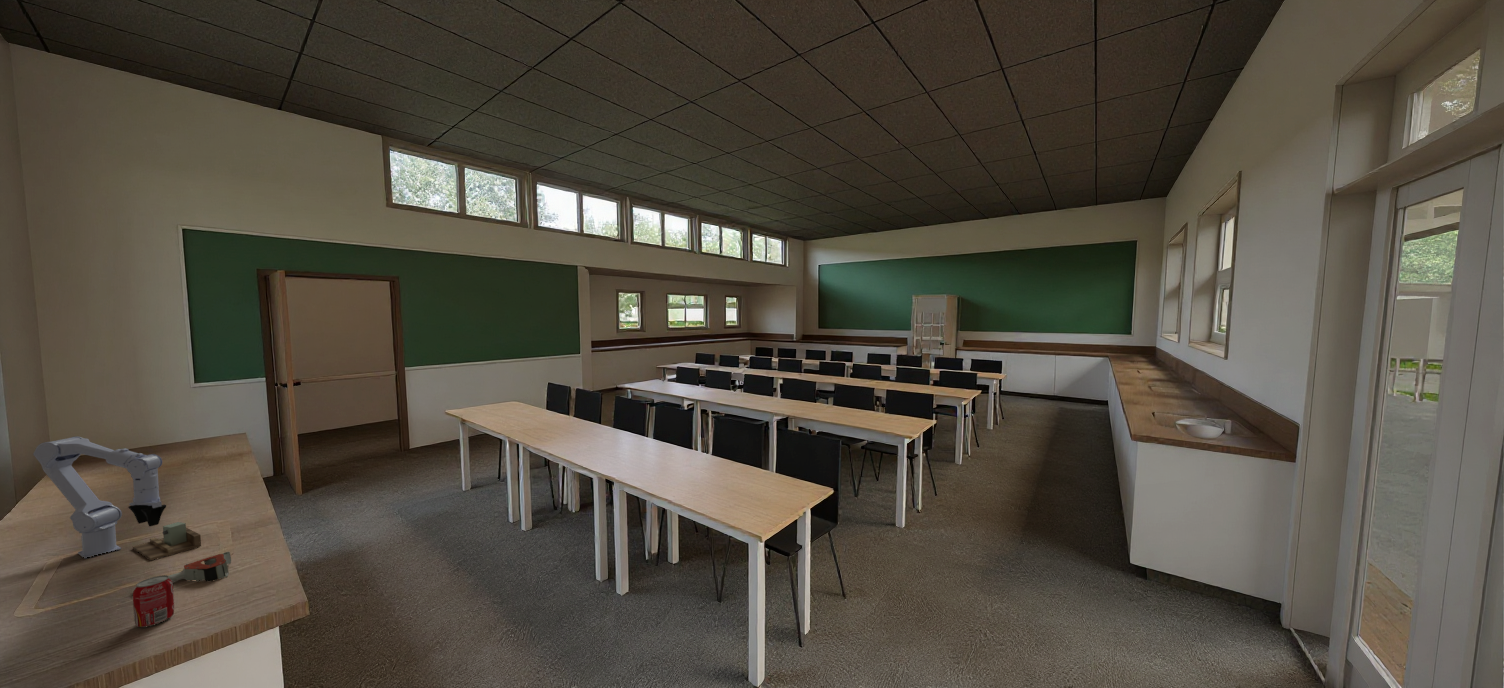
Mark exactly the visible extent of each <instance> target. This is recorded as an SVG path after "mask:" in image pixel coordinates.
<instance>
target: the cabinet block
mask: <svg viewBox="0 0 1504 688" xmlns="http://www.w3.org/2000/svg"><path fill="white" fill-rule="evenodd" d="M186 528H187V524H186V522H179V521H177V522H173V523H170V524H169V523H168V524H166V525H162V534H163V538H164V543H165V544H167V545H169V546H173V545H176V544H179V543H182V542H186V541H187V538H186Z"/></svg>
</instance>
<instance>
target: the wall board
mask: <svg viewBox="0 0 1504 688" xmlns="http://www.w3.org/2000/svg"><path fill="white" fill-rule="evenodd" d="M186 538H187V541H186V542H182V543H179V544H176V545H173V546H169V545H167V544H165V543H164V537H163V538H159V539H158V538H157V537H151V538H149V541H148V542H144V543H141V544H136V545H133V546H132V550H133V549H134V550H133V551H135V552H136V553H138V552H139V553H138V554H140V555H141V554H142V555H141V556H142V557H144V556H145V557H144V558H145V559H147V558H148V559H147V560H148V561H150V560H152V561H155V560H154V559H156V560H158V559H157V558H159V559H161V558H160V557H163V556H166V557H168V556H167V555H169V556H172V555H171V554H173V555H176V554H180V553H182V552H186V550H187V551H189V549H190V550H194V549H197V548H200V547H199V546H201V547H202V540H201V534H200V533H199V532H196V531H194V530H192V529H190V528H188V527H186ZM196 547H197V548H196ZM193 548H194V549H193ZM179 552H180V553H179ZM175 553H176V554H175ZM163 558H164V557H163Z"/></svg>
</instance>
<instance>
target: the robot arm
mask: <svg viewBox="0 0 1504 688" xmlns="http://www.w3.org/2000/svg"><path fill="white" fill-rule="evenodd" d="M32 455H33V456H34V457H35V459H36V460H37V461H38V463H39V464H40V465H41V469H42V470H43V472H44V473H45V475H46V476H47V477H48V478H49V479H50V480H51V481H52V483H53V484H54V485H55V486H56V488H57V489H58V490H59V491H60V493H61V494H62V495H63V497H64V498H65V499H66V500H67V501H68V503H69V504H70V505H71V506H72V507H73V508H74V509H75V511H73V512H72V514H71V515H70V517H69V519H70V520H71V521H72V526H73V528H74V530H75V531H76V532H78V533H79V534H81V548H82V549H81V551H77V554H78V555H80V556H81V558H83V557H84V558H83V559H88V558H87V557H90V558H92V557H91V556H93V557H95V556H94V555H97V556H99V555H98V554H101V555H103V554H102V553H105V554H107V553H106V552H108V553H112V552H115V550H116V551H119V550H121V549H122V548H121V547H120V546H119V545H117V536H116V534H117V533H116V525H117V524H118V521H119V520H120V519H121V518H122V516H123V512H122V510H121V509H120V508H119V507H118V506H115V505H113V503H112V502H111V501H107V500H100V499H99V498H98V497H97V495H96V494H95V493H94V492H93V490H92V489H91V488H90V487H89V486H88V484H87V483H86V481H85V480H84V479H83V478H82V477H81V475H79V473H78V472H77V471H76V469H75V468H74V467H73V464H74V462H75V461H77V459H78V458H79V457H80V456H81V455H85V456H90V457H94V458H98V459H103V460H105V461H106V464H108V465H112V466H116V467H120V468H123V469H126V471H127V472H128V473H130V478H132V483H133V498H132V502H129V503H128V504H129V506H128V509H129V510H130V511H131V512H132V513H133V515H134V517H135V519H136V521H137V524H143V523H147V525H148V527H153V526H157V525H159V524H160V520H161V517H162V515H163V512H164V510H165V509H166V507H167V504H162V501H161V497H160V486H159V472H158V470H159V468H161V467H162V466H163V459H162V457H161V456H160V455H157V454H155V453H152V454H151V453H150V454H144V453H141V452H139V453H138V452H136V451H132V450H130V449H129V448H125V447H124V448H118V449H115V450H114V449H112V448H109V447H106V446H104V445H101V444H97V443H94V442H91V441H90V439H89V438H87V437H85V438H84V437H81V436H79V435H78V436H71V437H68V438H67V437H66V438H63V439H62V438H61V439H57V440H53V441H46V442H42V443H40V444H38V445H36V448H35V450H34V451H33V454H32ZM111 551H112V552H111Z"/></svg>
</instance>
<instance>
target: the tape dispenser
mask: <svg viewBox="0 0 1504 688" xmlns="http://www.w3.org/2000/svg"><path fill="white" fill-rule="evenodd" d="M202 562H204V563H202ZM231 563H232V557H231V551H225V552H223V553H219V554H215V555H212V556H208V557H206V558H203V559H200V560H196V561H194V562H193V561H192V562H190V563H186V564H184V565H183V569H182V570H181V571H180V572H176V573H173V574H172V573H171V574H170V575H168V576H169V579H170V580H172V582H173V583H175V582H177V581H180V580H186V581H187V580H196V581H197V582H200V581H199V580H201V581H205V582H207V581H211V582H214V581H213V580H215V581H218V580H217V579H219V580H221V579H220V578H222V579H225V578H224V577H226V578H228V577H229V567H228V565H230V564H231ZM227 576H228V577H227ZM196 581H195V582H196Z"/></svg>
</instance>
